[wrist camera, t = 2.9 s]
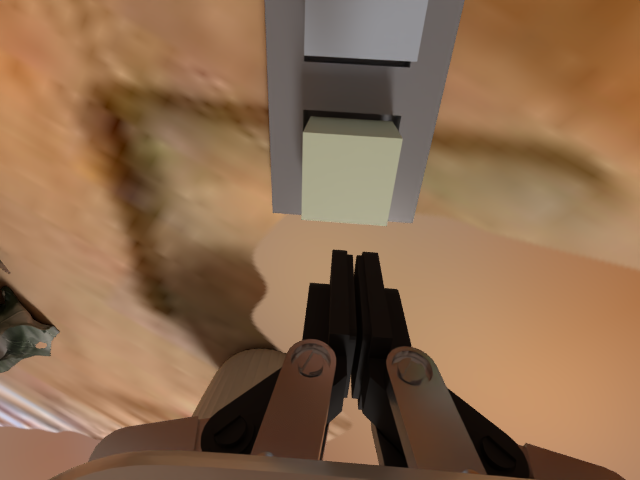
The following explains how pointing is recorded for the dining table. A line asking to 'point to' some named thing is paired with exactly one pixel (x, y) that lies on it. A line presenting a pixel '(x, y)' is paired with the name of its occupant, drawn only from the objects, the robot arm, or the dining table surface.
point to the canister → (238, 378)
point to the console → (354, 98)
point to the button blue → (364, 28)
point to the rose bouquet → (20, 331)
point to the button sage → (349, 170)
